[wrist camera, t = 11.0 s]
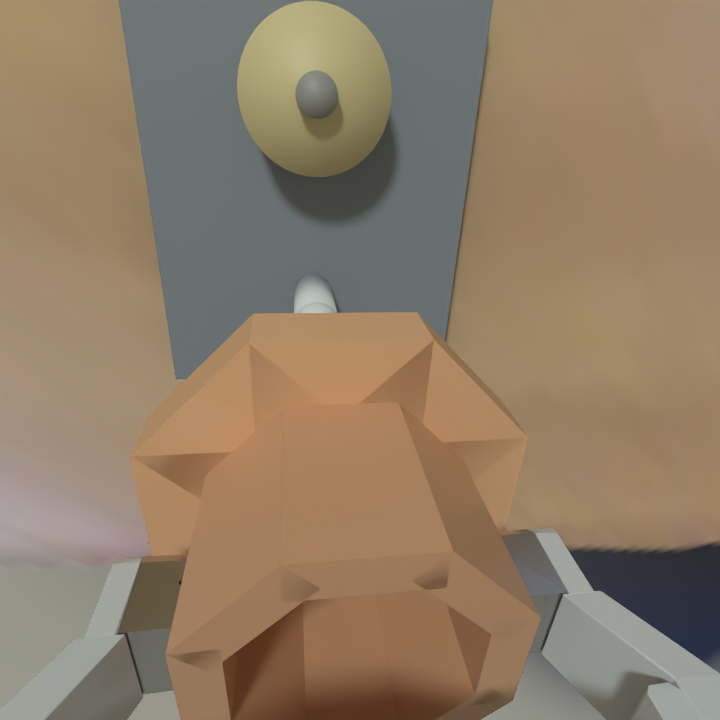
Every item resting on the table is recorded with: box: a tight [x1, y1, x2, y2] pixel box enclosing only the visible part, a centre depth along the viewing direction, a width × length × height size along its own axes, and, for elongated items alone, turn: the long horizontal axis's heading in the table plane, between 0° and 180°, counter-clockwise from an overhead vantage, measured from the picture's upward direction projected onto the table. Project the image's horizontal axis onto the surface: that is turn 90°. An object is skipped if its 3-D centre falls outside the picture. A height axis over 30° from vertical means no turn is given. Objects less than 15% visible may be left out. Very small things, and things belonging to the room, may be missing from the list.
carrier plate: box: [119, 0, 493, 379], centre depth 22 cm, size 15×18×6 cm
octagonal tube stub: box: [130, 312, 541, 720], centre depth 11 cm, size 9×9×6 cm
